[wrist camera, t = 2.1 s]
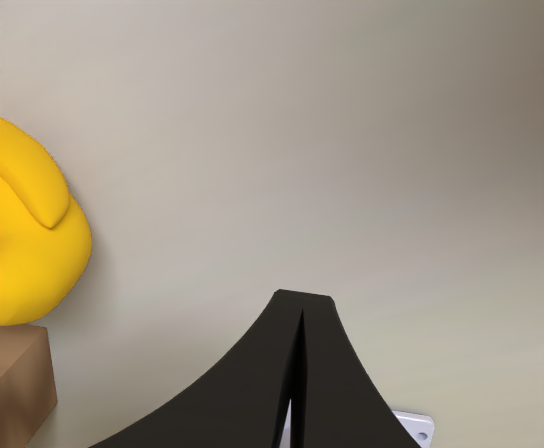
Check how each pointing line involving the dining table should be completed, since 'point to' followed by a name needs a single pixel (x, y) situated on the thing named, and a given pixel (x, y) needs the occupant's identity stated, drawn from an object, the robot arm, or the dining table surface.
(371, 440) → the robot arm
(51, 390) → the walnut block
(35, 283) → the duckling
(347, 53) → the dining table surface
